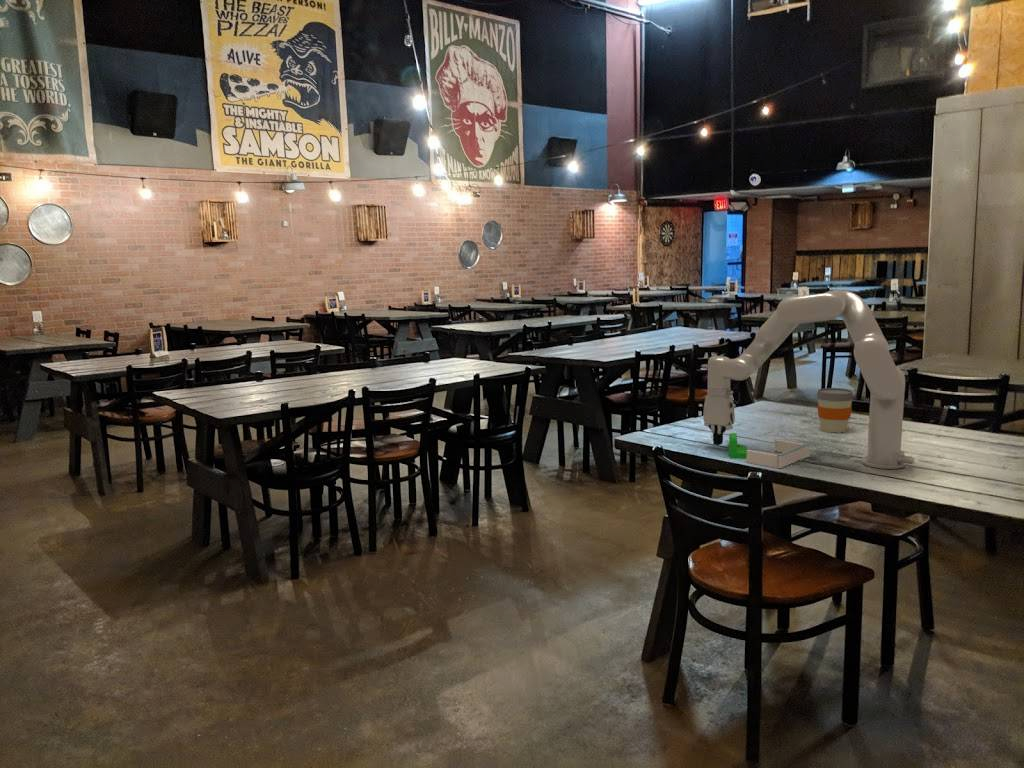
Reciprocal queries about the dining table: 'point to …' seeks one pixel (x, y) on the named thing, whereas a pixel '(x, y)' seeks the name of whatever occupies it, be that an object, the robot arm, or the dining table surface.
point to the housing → (789, 455)
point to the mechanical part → (736, 447)
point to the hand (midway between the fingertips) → (717, 444)
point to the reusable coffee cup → (834, 408)
